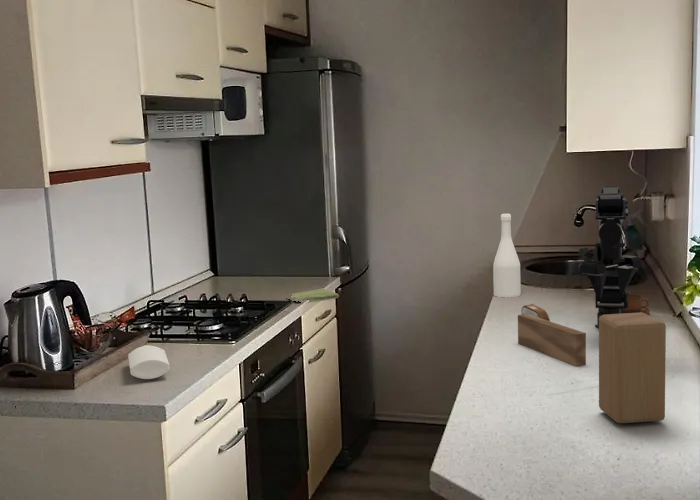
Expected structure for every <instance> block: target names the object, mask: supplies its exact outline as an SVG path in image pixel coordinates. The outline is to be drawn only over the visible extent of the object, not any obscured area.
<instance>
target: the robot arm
mask: <svg viewBox="0 0 700 500" xmlns="http://www.w3.org/2000/svg"><path fill="white" fill-rule="evenodd" d="M620 189H621V188H620V186H618V185H604V186H602V187H601V192H600V193H598V194H597V196H596V197H595V220H596V221H597V220H598V223H599V225H598V226H599V229H598V236H599V239H598V240H599V242H595V243H596V244H594V246H595V247H594V248H593V249H589V248H588V247H587V246H586V247H582V248H579V249H578V257H579V258H578V259H579V261H581V263H580V264H579V265H578V272H579V273H580V274H582V275H583V276H585V277H587V278H588V279H589V281H590V283H591V286H592V289H593V290H594V293H595V294H594V295H595V309H598V311H597V313H596V314H597V316H596V317H597V318H596V319H597V320H596V321H597V323H596V324H594V327H595V328H598V329H599V317H600V316H602V315H606V314H623V309H626V308H628V294H629V292H628V291H627V288H628V285H630V282H631V281H632V278H633V277H634V275H635V274H636V273H637V271H638V270H639V268H642V259H641V258H640V257H639V256H636V255H628V254H624V255H622V254H623V253H622V252H623V251H622V248H625V247H626V242H622V238H623V237H622V236H623V231H622V230H623V227H622V226H623V225H622V224H623V222H624V220H627V219H626V217H628V216H629V203H628V200H627V198H626V196H625V194H623V192H621V190H620ZM582 261H583V262H582ZM621 302H624V304H623V303H621Z"/></svg>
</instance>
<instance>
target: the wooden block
mask: <svg viewBox="0 0 700 500" xmlns="http://www.w3.org/2000/svg"><path fill="white" fill-rule="evenodd" d="M666 333H667V326H666V323H665V322H664V321H663V320H661V319H658V318H656V317H654V316H652V315H650V314H645V313H642V312H640V313H623V314H606V315H602V316H600V317H599V328H598V407H599V409H600V410H601V411H602V412H603V413H605V414H606V415H607V416H608V417H610V418H611V419H612V420H613V421H615V422H616V423H618V424H629V423H631V424H633V423H645V422H659V421H660V422H661V421H663V420H665V417H666V345H667V344H666V343H667V342H666V340H667V339H666V335H667V334H666Z"/></svg>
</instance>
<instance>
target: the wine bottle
mask: <svg viewBox="0 0 700 500" xmlns="http://www.w3.org/2000/svg"><path fill="white" fill-rule="evenodd" d="M500 220H501V227H500V228H501V237H500V241H499V244H498V248H497V250H496V254H495V257H494V260H493V265H492V271H493V272H492V273H493V277H492V278H493V281H492V282H493V296H494V297H495V296H497V297H496V298H500V297H505V298H504V299H511V298H510V297H514V298H519V297H520V296H521V291H522V290H521V285H522V284H521V262H520V259H519V256H518V253H517V251H516V248H515V245H514V242H513V238H512V226H511V225H512V223H511V221H512V215H511V213H501V215H500ZM518 296H519V297H518ZM507 297H508V298H507Z"/></svg>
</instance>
